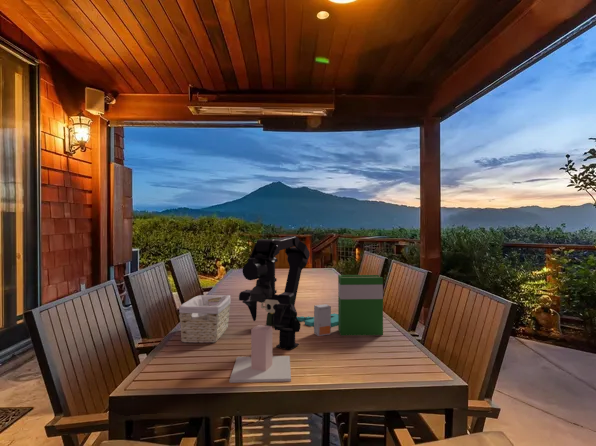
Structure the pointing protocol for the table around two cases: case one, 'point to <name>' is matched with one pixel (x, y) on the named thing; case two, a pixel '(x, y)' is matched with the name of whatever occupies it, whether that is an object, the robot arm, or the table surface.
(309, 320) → the alien figure
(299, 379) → the table surface
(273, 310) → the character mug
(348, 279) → the green cereal box
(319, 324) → the skincare box
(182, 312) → the storage basket
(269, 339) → the rose card box
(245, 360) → the white square plate
